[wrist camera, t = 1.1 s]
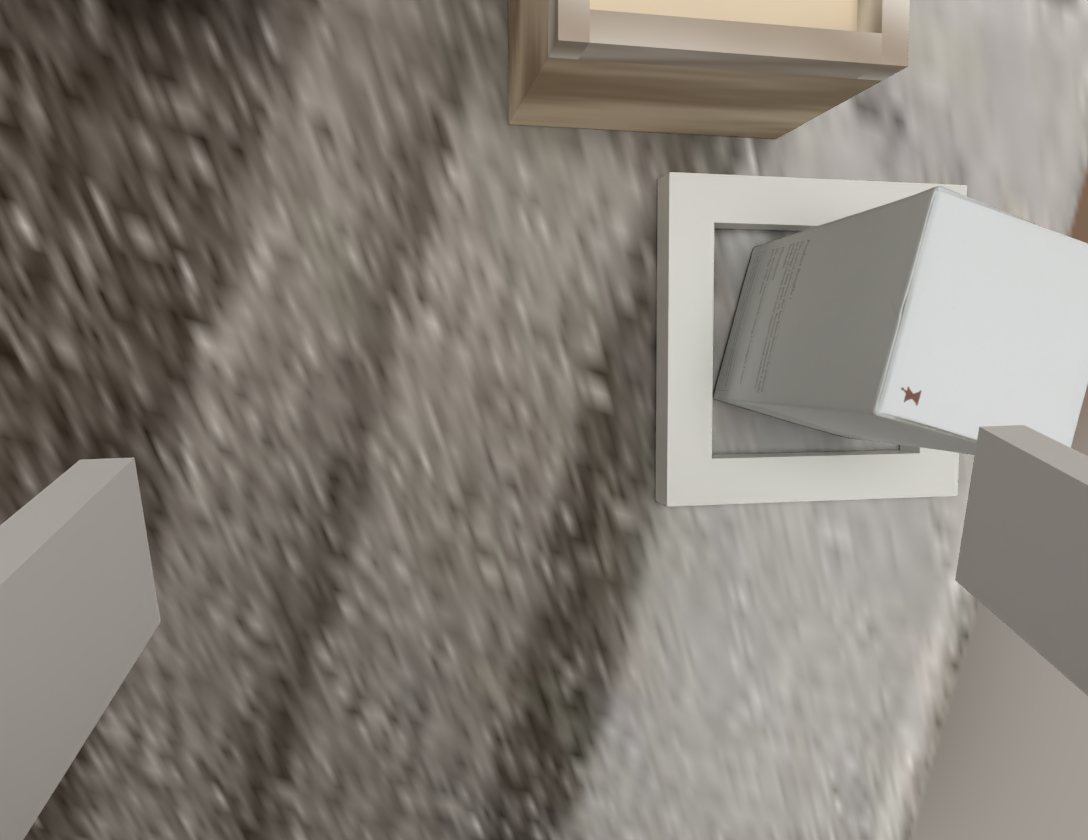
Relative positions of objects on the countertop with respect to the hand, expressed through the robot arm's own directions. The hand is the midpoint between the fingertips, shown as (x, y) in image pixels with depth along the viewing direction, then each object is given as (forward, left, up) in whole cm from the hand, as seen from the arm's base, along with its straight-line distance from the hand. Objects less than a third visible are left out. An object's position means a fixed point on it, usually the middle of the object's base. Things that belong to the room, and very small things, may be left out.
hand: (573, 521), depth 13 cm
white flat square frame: (+3, -16, -23) cm, 28 cm away
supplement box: (+3, -16, -23) cm, 29 cm away
